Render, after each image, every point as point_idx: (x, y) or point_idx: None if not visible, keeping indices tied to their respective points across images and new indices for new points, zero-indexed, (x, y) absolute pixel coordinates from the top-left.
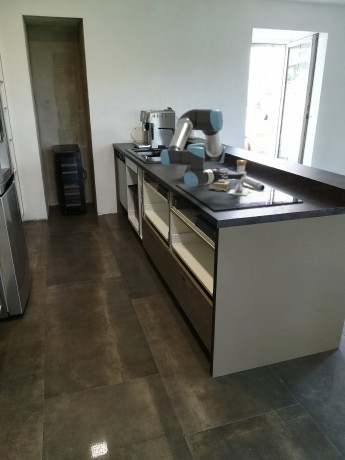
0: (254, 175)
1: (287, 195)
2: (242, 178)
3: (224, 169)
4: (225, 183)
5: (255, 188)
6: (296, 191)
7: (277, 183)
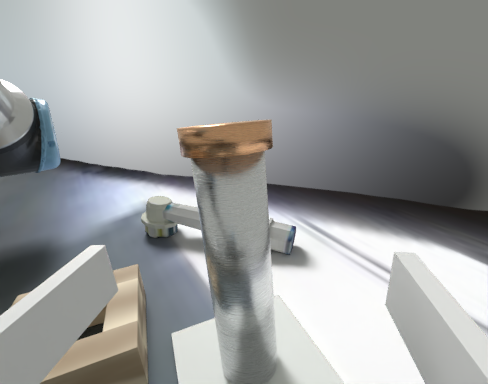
0: (167, 175)
1: (412, 244)
2: (270, 275)
3: (55, 293)
4: (117, 327)
5: None
6: (361, 204)
7: None
